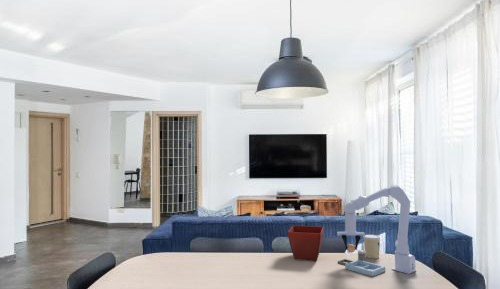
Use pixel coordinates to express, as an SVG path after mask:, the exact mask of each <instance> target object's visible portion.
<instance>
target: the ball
mask: <svg viewBox="0 0 500 289" xmlns="http://www.w3.org/2000/svg"><path fill="white" fill-rule="evenodd" d="M346 250H347V252H348V253H354V252H355V251H356V250H355V244H353V243H349V244H347V249H346Z"/></svg>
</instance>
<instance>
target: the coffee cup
mask: <svg viewBox="0 0 500 289" xmlns="http://www.w3.org/2000/svg"><path fill="white" fill-rule="evenodd" d="M362 238H363V245H364V246H363V248H364V251H366V253H365V256H366V258H368V259H379V257H380V246H381V244H380V242H381V238H380V236H379V235H378V234H377V235H376V234H365V237H363V236H362Z"/></svg>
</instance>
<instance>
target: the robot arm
mask: <svg viewBox="0 0 500 289" xmlns="http://www.w3.org/2000/svg"><path fill="white" fill-rule="evenodd" d="M382 197H385V198H386V197H387V198H390V197H391V198H393V199H394V200H396V202H398V203H399V204H400V205H399V217H398V218H399V219H398V229H397V230H398V232H397V238H396V240H395V242H394V246H395V250H394V267H392V268H391V270H392V271H396V272H400V273H405V274H408V275H409V274H412V273H415V272H417V269H416V257H415V255H414V254H413V255H412V254H411V253H410V245H409V244H408V242H409V239H408V236H409V235H408V234H409V225H410V224H409V222H410V212H411V210H410V209H411V201H410V199H409V197H408V196H407V193H406V192H405V191H404V189H402V188H401V187H400V186H399V185H397V184H392V185H391V186H387V187H384V188H382V189H380V190H378V191H376V192H374V193H371V194H370V195H368V196H365V195H360V196H358V198H355V199H354V200H353V199H352V200H350V201H349V202H346V204H345V205H344V211H345V213H344V214H345V216H344V226H345V229H344V231H337V232H336V235H337V237H341V238H342V241H343V242H344V246H345V250H347V246H348V243H347V240H348V239H347V237H354V238H355V239H354V240H355V242H354V243H355V244H354V246H355V251H356V250H357V251H358V245H359V242H360V240H361V237H362V238H363V237H365V235H366V234H365V232H363V231H357V217H356V211H359V210H361V209H363V208H366V207H369V205H370V203H371V202H373V201H375V200H378V199H380V198H382Z"/></svg>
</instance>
